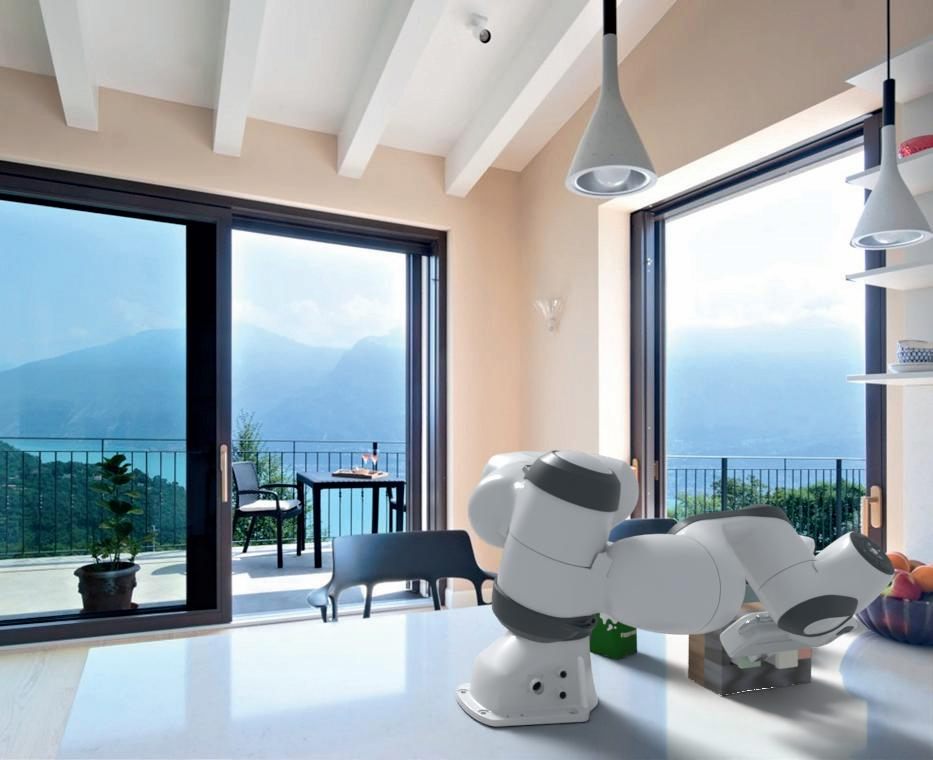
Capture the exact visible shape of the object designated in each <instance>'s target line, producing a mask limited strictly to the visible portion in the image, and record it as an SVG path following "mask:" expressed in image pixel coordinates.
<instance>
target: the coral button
mask: <svg viewBox="0 0 933 760" xmlns="http://www.w3.org/2000/svg"><path fill="white" fill-rule="evenodd" d="M812 649H813V648H806V649H798V659H805V658H811V659H812V655H813V651H812Z"/></svg>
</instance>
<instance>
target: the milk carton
mask: <svg viewBox="0 0 933 760" xmlns="http://www.w3.org/2000/svg"><path fill="white" fill-rule="evenodd" d="M595 614H596V616H597V618H598V624H597V625H596V626H595V627H594V628H593V629H592V634H591V639H590V653H591V652H592V653H595V654H598V655H601V656H605V657H607V658H611V659H614V660H617V661H619V660H621V659H623V658H625V657H628V656H630V655H633V654H635V653H637V652H638V635H637V634H638V632H637V630H638V628H634V627H631V626H628V625H625V624H623V623H621V622H619V621H617V620H615V619H614V618H613V617H611V616H609V615H607V614H605V613H595Z"/></svg>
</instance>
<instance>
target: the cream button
mask: <svg viewBox="0 0 933 760" xmlns="http://www.w3.org/2000/svg"><path fill="white" fill-rule="evenodd" d="M764 661H766V662H769V663H771V664H773V665H775V667H776V668H778V669H783V668H790V667H797V666H798V650H791V651H784V652H779V653H777V654H774V655H772V656H770V657H769V658H768V659H767V660H764Z"/></svg>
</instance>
